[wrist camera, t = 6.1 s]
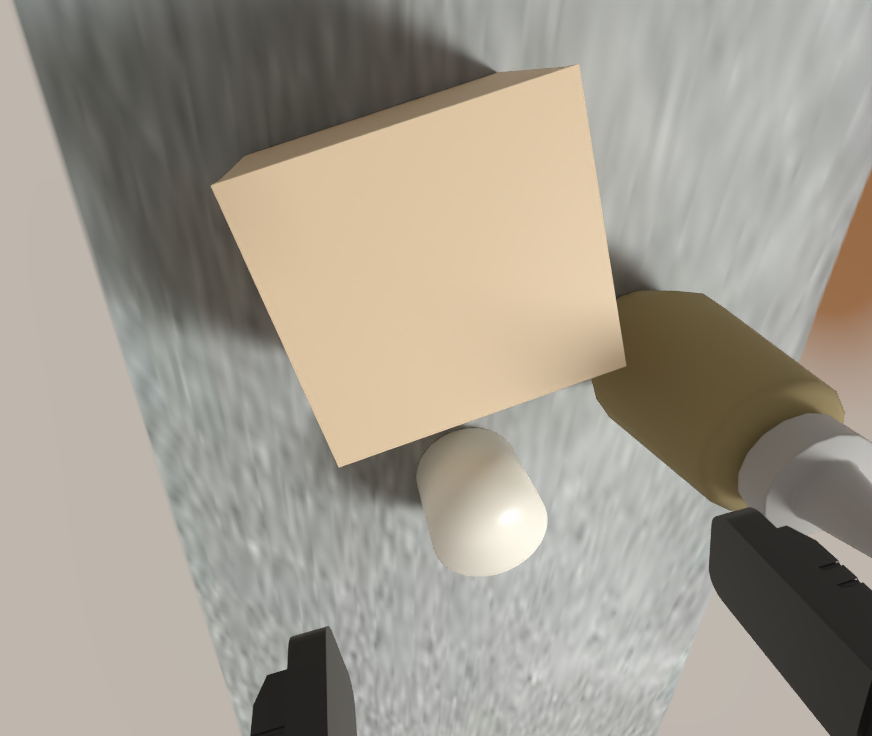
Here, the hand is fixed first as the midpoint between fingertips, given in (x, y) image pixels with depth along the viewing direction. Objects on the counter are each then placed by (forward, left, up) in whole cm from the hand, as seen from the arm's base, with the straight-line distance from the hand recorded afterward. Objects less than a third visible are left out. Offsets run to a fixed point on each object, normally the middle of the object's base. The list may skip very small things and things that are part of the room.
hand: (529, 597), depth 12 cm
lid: (-3, +1, -12) cm, 12 cm away
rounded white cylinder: (+13, 0, -20) cm, 24 cm away
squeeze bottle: (+7, +12, -21) cm, 25 cm away
